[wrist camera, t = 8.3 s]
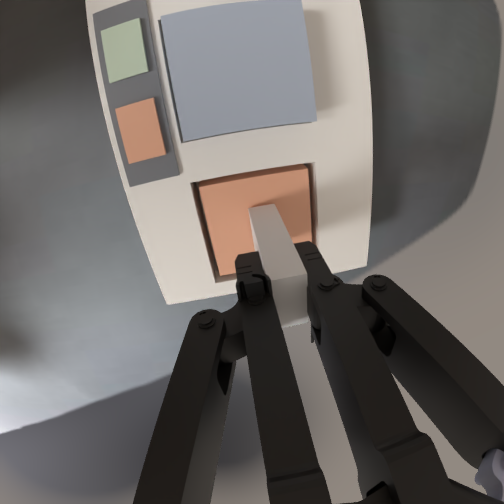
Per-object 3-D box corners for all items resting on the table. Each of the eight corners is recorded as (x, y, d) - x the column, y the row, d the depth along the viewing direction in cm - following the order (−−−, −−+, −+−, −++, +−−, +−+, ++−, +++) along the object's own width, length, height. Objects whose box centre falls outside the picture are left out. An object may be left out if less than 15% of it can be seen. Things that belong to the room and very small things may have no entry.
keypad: (172, 268, 23) (166, 309, 19) (103, -61, 8) (81, -86, 4) (344, 235, 23) (369, 269, 19) (306, -88, 9) (328, -116, 5)
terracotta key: (218, 254, 21) (220, 275, 19) (200, 173, 18) (198, 187, 15) (301, 238, 21) (312, 258, 19) (295, 157, 18) (307, 168, 16)
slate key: (187, 132, 14) (183, 141, 12) (168, 26, 11) (160, 16, 9) (301, 115, 14) (317, 121, 12) (287, 10, 11) (301, -1, 9)
